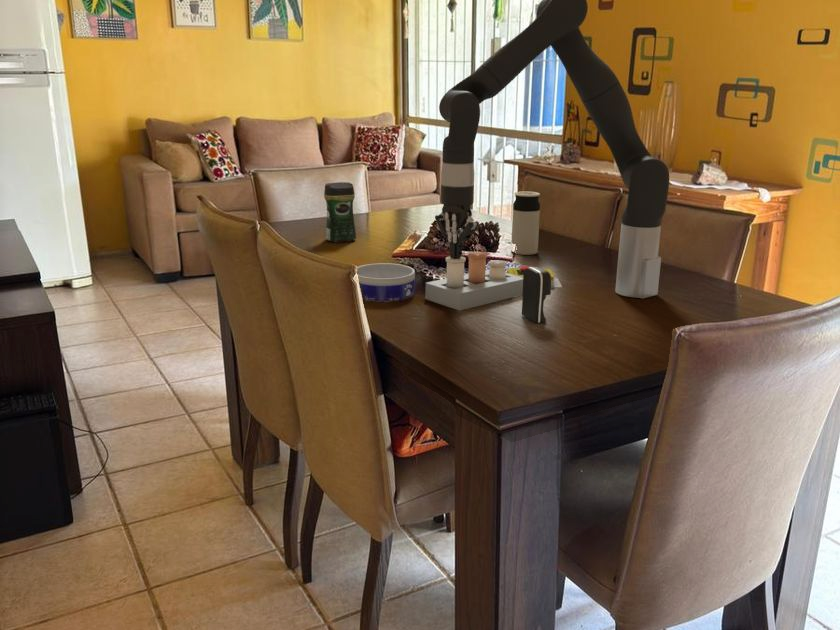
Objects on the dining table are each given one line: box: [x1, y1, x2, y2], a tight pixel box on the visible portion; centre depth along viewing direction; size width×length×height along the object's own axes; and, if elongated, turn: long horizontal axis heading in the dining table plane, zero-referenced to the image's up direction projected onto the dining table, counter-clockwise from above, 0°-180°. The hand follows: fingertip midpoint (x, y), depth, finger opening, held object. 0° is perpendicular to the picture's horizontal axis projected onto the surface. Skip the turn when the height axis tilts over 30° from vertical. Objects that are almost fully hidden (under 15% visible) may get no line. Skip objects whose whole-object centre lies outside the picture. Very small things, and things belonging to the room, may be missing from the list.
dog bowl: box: [356, 262, 416, 303], centre depth 185 cm, size 15×15×6 cm
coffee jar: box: [323, 181, 357, 243], centre depth 243 cm, size 10×8×19 cm
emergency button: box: [506, 265, 563, 289], centre depth 197 cm, size 9×4×15 cm
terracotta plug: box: [467, 251, 488, 284], centre depth 182 cm, size 5×5×7 cm
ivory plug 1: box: [445, 255, 467, 289], centre depth 178 cm, size 5×5×7 cm
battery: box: [521, 266, 552, 324], centre depth 166 cm, size 7×4×11 cm, turn 21°
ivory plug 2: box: [487, 259, 508, 280], centre depth 187 cm, size 5×5×7 cm
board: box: [424, 269, 523, 311], centre depth 183 cm, size 12×22×4 cm, turn 130°
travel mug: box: [511, 190, 541, 256], centre depth 228 cm, size 8×8×18 cm
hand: (455, 257), depth 177 cm, fingers closed
